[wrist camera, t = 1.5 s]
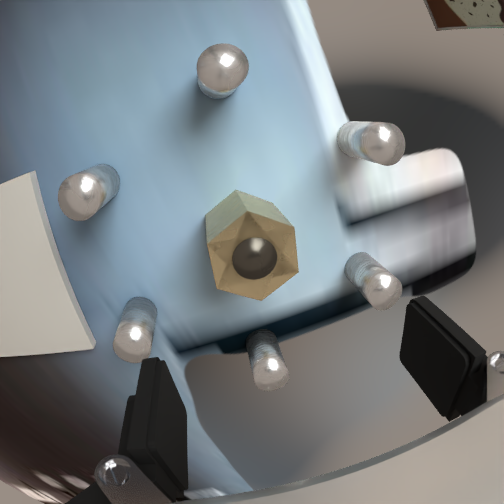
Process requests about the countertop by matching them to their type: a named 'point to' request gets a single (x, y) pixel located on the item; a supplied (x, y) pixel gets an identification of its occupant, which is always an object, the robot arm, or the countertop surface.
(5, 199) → the mat
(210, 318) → the countertop surface
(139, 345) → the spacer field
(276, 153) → the countertop surface
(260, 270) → the faceted candle holder
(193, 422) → the countertop surface
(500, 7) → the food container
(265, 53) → the countertop surface
